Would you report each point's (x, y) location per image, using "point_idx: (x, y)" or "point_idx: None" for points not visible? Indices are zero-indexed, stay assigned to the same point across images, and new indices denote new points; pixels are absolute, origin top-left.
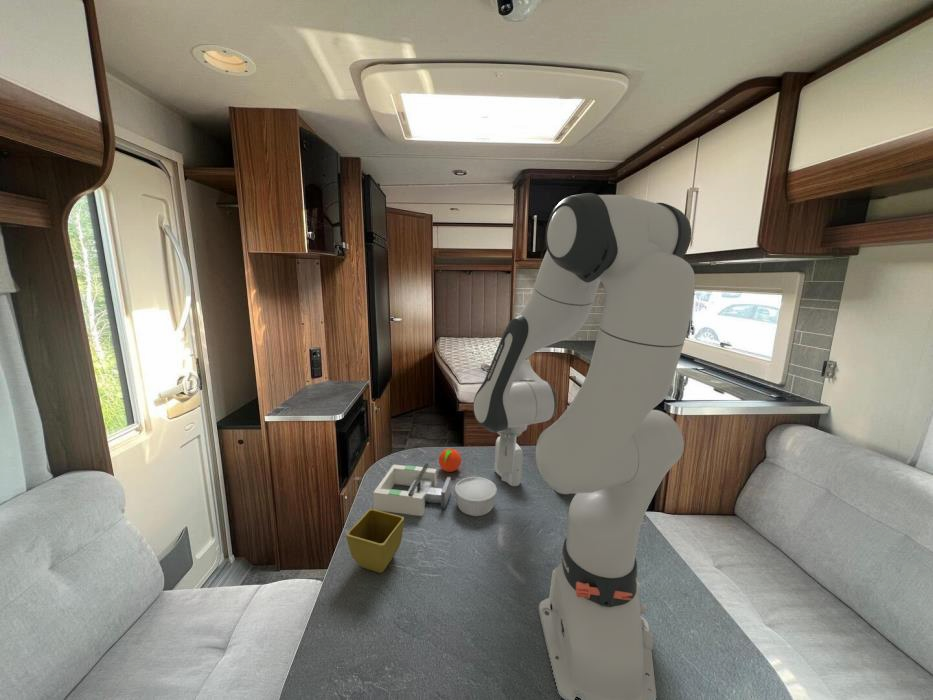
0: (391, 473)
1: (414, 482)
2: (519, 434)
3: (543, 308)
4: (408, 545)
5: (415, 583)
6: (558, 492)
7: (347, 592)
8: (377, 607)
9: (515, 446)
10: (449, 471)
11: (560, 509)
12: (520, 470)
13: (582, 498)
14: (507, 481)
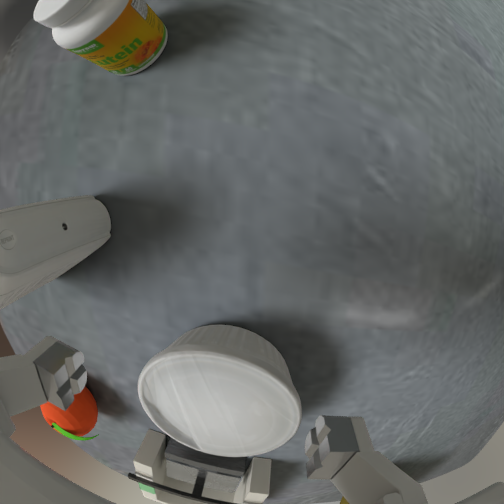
0: (172, 502)
1: (180, 479)
2: None
3: None
4: None
5: (430, 438)
6: (155, 59)
7: None
8: (439, 455)
9: (27, 490)
10: (95, 401)
11: (255, 66)
12: (61, 208)
13: None
14: (356, 417)
